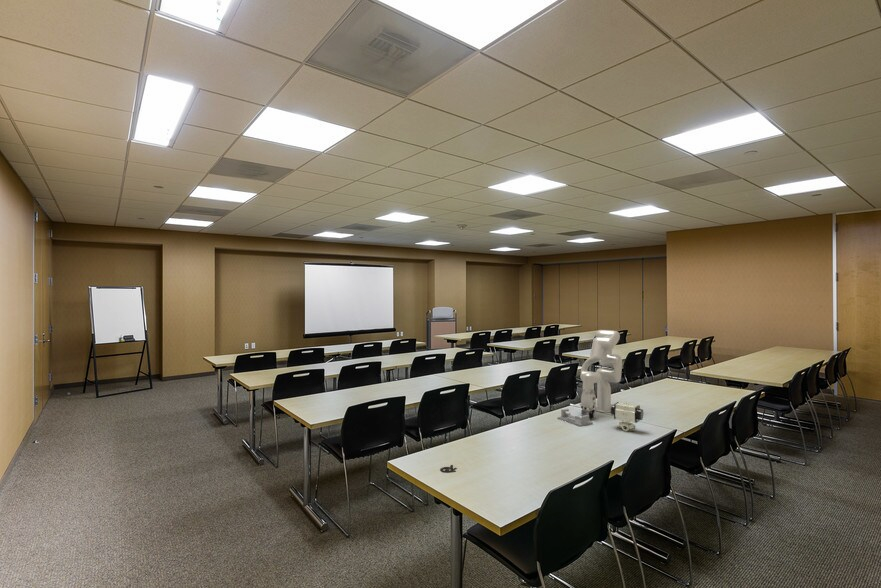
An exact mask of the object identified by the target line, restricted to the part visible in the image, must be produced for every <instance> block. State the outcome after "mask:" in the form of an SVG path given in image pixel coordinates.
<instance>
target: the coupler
mask: <svg viewBox="0 0 881 588" xmlns="http://www.w3.org/2000/svg"><path fill="white" fill-rule="evenodd" d="M580 414H581V415H580V416H584V415H588V416H589V421H590V420H596V411H595V412H594V417H593V419H590V409H589V408H587V409H584V410H582V409H581V413H580Z"/></svg>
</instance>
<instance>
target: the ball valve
mask: <svg viewBox="0 0 881 588" xmlns="http://www.w3.org/2000/svg"><path fill="white" fill-rule="evenodd" d="M613 404H614V405H612V404H611V405H612V406H611V412H610V414H611V416H613V417H614V418H613V419H614V420H620V421H619V422H618V428H619V429H621V430H622V431H624V432H628V431H630V432H632V431H635V430H636V424H637V423H639V422H640V421H642V420H643V419H644V409H642V408H641V406H640V404H639V405H638V404H633V403H629V402H628V401H625V402H619V401H616V402H615V403H613ZM634 423H635V424H634Z"/></svg>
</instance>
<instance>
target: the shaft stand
mask: <svg viewBox="0 0 881 588" xmlns="http://www.w3.org/2000/svg"><path fill="white" fill-rule="evenodd" d="M560 415H561V416H558V417H557V420H559V421H562V420H563V422H565V421H566V422H565V423H569V424H572V425H575V426H577V427H579V428H580V427H584V426H585V427H586V426H589V425H594V423H593V422H592V421H590V420H589V416H588V415H584V416H581V415H580V416H578V415H571V412H570V409H569V408H561V411H560Z"/></svg>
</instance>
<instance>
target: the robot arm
mask: <svg viewBox="0 0 881 588" xmlns="http://www.w3.org/2000/svg"><path fill="white" fill-rule="evenodd" d="M620 337H621V334H620V332H618V331H617V330H611V329H609V330H608V329H598V330H595V337H594V338H593V340H592V344H591V350H590V356H589V357H588V358H587V359H586V360H585V361H584V362H583V363H582V366H581V370H580V375H579V376H580V377H579V378H580V380H581V381H582V392H581V398H580V403H579V406H580V408H581V410H584V409H590V419H592V420H594V419H593V417H594V412H595V413H596V412H599V413H606V414H608V413H610V414H611V406H612V405H614V404H615V403H613V404H611V402H612V400H611V399H612V388H611V384H610V383H620V382H621V380H622V372H623V371H622V369H623V359H622V356H621V355H619V354H613V349H614V348H615V347H616V345H617V344H618V343H619V341H620ZM597 362H598V363H599V365H600V366H602V367H599V368H597V369H596V371H588V368H589V367H590V366H591V365H593V364H595V363H597ZM606 367H608V368H606ZM595 384H597V385H596V391H595ZM595 393H596V394H595ZM596 396H597V397H596Z"/></svg>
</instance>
